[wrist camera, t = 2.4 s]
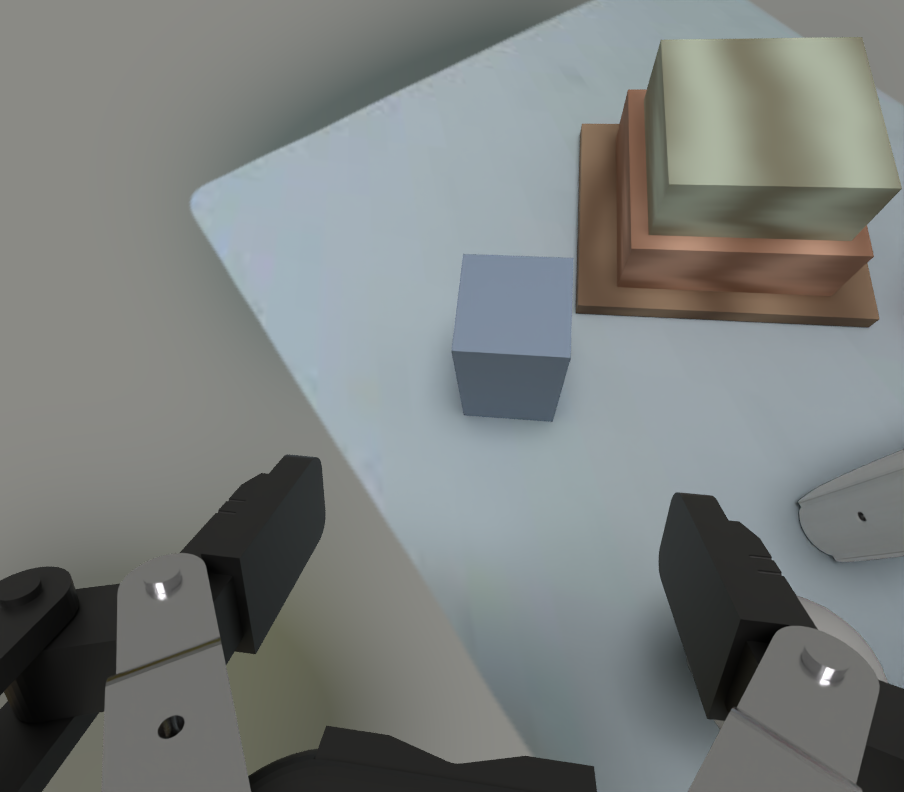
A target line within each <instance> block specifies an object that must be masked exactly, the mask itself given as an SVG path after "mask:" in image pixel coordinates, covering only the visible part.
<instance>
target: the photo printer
mask: <svg viewBox="0 0 904 792" xmlns="http://www.w3.org/2000/svg"><path fill="white" fill-rule="evenodd" d="M798 502H799V504H800V506H801V509H800V510H799V517H800V523H801V526H802V528H803V530H804V532H805V534H806V536H807V537H808V539H809V540H810V541H811V542H812V543H813V544H814V545H815V546H816V547H817V548H818V549H820V550H821V551H823V552H824V553H826V554H828V555H832V556H833V557H834V558H835V560H836V561H838V562H855V561H865V560H875V559H883V558H892V557H901V556H904V449H903V450H901V451H898V452H896V453H893V454H891V455H888V456H886V457H883V458H881V459H879V460H876V461H874V462H872V463H869V464H867V465H865V466H862V467H860V468H858V469H855V470H853V471H851V472H849V473H846V474H844V475H842V476H840V477H837V478H835V479H834V480H832V481H830V482H828V483H825V484H823V485H821V486H819V487H818V488H816V489H814V490H813V491H811V492H810V493H808V494H807V495H805V496H804V497H803V498H801V499H800V500H799V501H798Z"/></svg>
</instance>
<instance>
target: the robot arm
mask: <svg viewBox="0 0 904 792" xmlns="http://www.w3.org/2000/svg"><path fill="white" fill-rule="evenodd" d="M322 477H323V476H322V466H321V461H320V459H319V458H317V457H307V456H298V455H285V456H284V457H283V458H282V459H281V460H280V461H279V463H278V464H277V465H276V466H275V467H274V468H273V470H272V471H271V472H270V473H269V474H265V473H264V474H263V473H261V474H259V475H257V476H256V477H254V478H252V479H250V480H249V481H247V482H245V483H244V484H242V485H241V486H240V487H239V488H238V489H237V490H236V491H235V493H234V494H233V495H232V496H231V497H230V498H229V501H226V503H225V504H224V505H223V506H222V507H221V508H220V509H219V511H218V513H216V514H215V515H214V516H213V517H212V518H211V519H210V520H209V521H208V522H207V523H206V525H205V526H204V527H203V528H202V529H201V530H200V531H199V532H198V533H197V535H196V536H195V537H194V538H193V539H192V540H191V541H190V542H189V543H188V544H187V546H185V548H184V549H183V550H182V551H181V552H180V553H174V554H167V555H163V556H159V557H156V558H153V559H151V560H149V561H147V562H145V563H143V564H141V565H139V566H138V567H136V568H135V569H133V570H132V571H131V572H130V573H129V574H128V575H127V576H126V577H125V578H124V579H123V580H122V582H121V583H120V584H115V585H106V586H98V587H89V588H82V589H75V587H74V584H73V581H72V578H71V576H70V574H69V572H68V571H66V570H65V569H62V568H59V567H39V568H34V569H29V570H25V571H22V572H19V573H16V574H14V575H11V576H9V577H7V578H5V579H3V580H1V581H0V695H1V694H2V693H3V692H4V693H5V695H6V697H7V700H8V702H7V703H6V704H5V705H4V706H3V707H2V708H1V709H0V792H42V791H43V789H44V788H45V787H46V785H47V784H48V783H49V781H50V780H51V778H52V777H53V776H54V774H55V773H56V771H57V770H58V769H59V767H60V766H61V765H62V763H63V762H64V760H65V759H66V757H67V756H68V755H69V754H70V752H71V751H72V749H73V748H74V747H75V745H76V744H77V742H78V741H79V740H80V738H81V737H82V736H83V734H84V733H85V731H86V730H87V728H88V727H89V726H90V724H91V723H92V722H93V720H94V719H95V717H96V716H97V715H98V713H99V712H104V738H103V766H102V767H103V768H102V792H597V789H596V781H595V772H594V766H588V765H582V764H575V763H569V762H562V761H555V760H549V759H542V758H536V757H529V756H521V757H513V758H505V759H496V760H488V761H480V762H471V763H463V764H454V763H450V762H447V761H445V760H443V759H441V758H439V757H436V756H434V755H432V754H430V753H427V752H425V751H423V750H421V749H419V748H416V747H414V746H411V745H409V744H407V743H405V742H403V741H401V740H399V739H396V738H394V737H392V736H389V735H383V734H377V733H371V732H364V731H357V730H350V729H344V728H337V727H331V726H326V729H325V731H324V734H323V737H322V739H321V742H320V745H319V748H318V749H313V750H307V751H303V752H299V753H296V754H292V755H289V756H286V757H284V758H281V759H279V760H276V761H274V762H272V763H270V764H268V765H266V766H264V767H262V768H261V769H259V770H257V771H256V772H254V773H253V774H251V775H249V776H248V774H247V768H246V763H245V758H244V753H243V748H242V743H241V738H240V733H239V728H238V723H237V718H236V714H235V709H234V704H233V698H232V693H231V688H230V683H229V678H228V673H227V669H226V664H227V663H228V661H229V660H230V658H231V656H232V655H233V653H234V652H235V651H236V652H243V653H251V654H256V653H257V651H258V649H259V647H260V646H261V643H262V642H263V640H264V638H265V637H266V635H267V633H268V631H269V630H270V628H271V626H272V624H273V622H274V621H275V619H276V617H277V615H278V614H279V612H280V610H281V608H282V606H283V605H284V603H285V601H286V599H287V597H288V595H289V594H290V592H291V590H292V589H293V587H294V585H295V583H296V581H297V580H298V578H299V576H300V574H301V572H302V571H303V569H304V567H305V565H306V563H307V562H308V560H309V558H310V556H311V555H312V553H313V551H314V549H315V547H316V546H317V544H318V542H319V540H320V538H321V535H322V533H323V529H324V524H325V501H324V489H323V478H322ZM659 573H660V578H661V581H662V584H663V587H664V590H665V593H666V596H667V599H668V602H669V605H670V608H671V611H672V614H673V617H674V620H675V623H676V626H677V629H678V632H679V635H680V638H681V641H682V644H683V647H684V650H685V653H686V656H687V659H688V662H689V665H690V668H691V671H692V674H693V677H694V680H695V683H696V686H697V689H698V692H699V695H700V698H701V701H702V704H703V707H704V710H705V713H706V716H707V719H713V720H720V721H725V722H724V724H723V726H722V728H721V730H720V731H719V733H718V735H717V737H716V739H715V741H714V743H713V745H712V747H711V749H710V750H709V752H708V754H707V756H706V758H705V760H704V762H703V764H702V766H701V768H700V769H699V771H698V773H697V775H696V777H695V779H694V781H693V783H692V785H691V787H690V788H689V790H688V792H904V689H902V688H900V687H897V686H894V685H891V684H889V683H886V682H884V681H881V680H879V679H878V678H877V676H876V673H875V672H874V670H873V669H872V667H871V666H870V664H869V663H868V662H867V661H866V660H865V659H864V658H863V657H862V656H861V655H860V654H859V653H858V652H857V651H855V650H854V649H853V648H852V647H850V646H849V645H847V644H846V643H844V642H843V641H841V640H839V639H838V638H836V637H834V636H832V635H830V634H827V633H825V632H823V631H820V630H818V629H817V627H816V626H815V624H814V622H813V621H812V619H811V618H810V616H809V615H808V613H807V612H806V610H805V608H804V607H803V605H802V604H801V602H800V601H799V599H798V597H797V596H796V594H795V593H794V591H793V590H792V588H791V586H790V585H789V583H788V582H787V580H786V579H785V577H784V576H781V571H780V569H779V568H778V566H777V565H776V563H775V561H772V559H771V555H770V554H769V552H768V551H767V549H766V547H765V546H764V544H763V543H762V541H761V540H760V538H759V537H757V536H756V535H755V534H754V533H753V532H751V531H750V530H749V529H748V528H746V527H745V526H744V525H743V524H742V523H740V522H738V521H729V520H728V519H727V517H726V515H725V514H724V512H723V510H722V508H721V507H720V505H719V503H718V502H717V500H716V498H715V497H714V496H710V495H699V494H689V493H678V492H677V493H675V494H674V495H673V497H672V500H671V503H670V508H669V512H668V516H667V520H666V525H665V529H664V533H663V537H662V541H661V546H660V551H659Z"/></svg>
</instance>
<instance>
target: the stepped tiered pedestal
mask: <svg viewBox="0 0 904 792" xmlns="http://www.w3.org/2000/svg"><path fill="white" fill-rule="evenodd" d="M901 189H902V187H901V183H900V180H899V176H898V172H897V168H896V164H895V161H894V157H893V153H892V149H891V145H890V142H889V138H888V134H887V130H886V126H885V123H884V119H883V115H882V111H881V107H880V104H879V100H878V96H877V92H876V88H875V85H874V81H873V77H872V73H871V70H870V66H869V62H868V58H867V54H866V50H865V47H864V43H863V39H862V37H844V38H843V37H842V38H841V37H840V38H766V39H693V40H661V42H660V45H659V49H658V52H657V56H656V59H655V63H654V66H653V70H652V73H651V77H650V80H649V84H648V87H647V90H628V92H627V96H626V100H625V104H624V108H623V112H622V116H621V120H620V124H582V127H581V133H580V162H579V203H578V244H577V285H576V313H582V314H603V315H624V316H645V317H666V318H686V319H707V320H728V321H749V322H770V323H791V324H812V325H833V326H854V327H870V326H871V325H872V324H874V323H875V322H876V321H878V320H879V314H878V310H877V305H876V301H875V296H874V291H873V287H872V282H871V278H870V273H869V268H868V264H867V262H868V261H870V260H871V259H872V258H873V257H874V255H873V251H872V246H871V242H870V237H869V233H868V228H867V224H868V223H869V222H870V221H871V220H872V219H873V218H874V217H875V216H876V215H877V214H878V213H879V212H880V211H881V210H882V209H883V208H884V207H885V206H886V204H887V203H888V202H889V201H890V200H891V199H892V198H893V197H894V196H895V195H896V194H897V193H898V192H899V191H900V190H901Z"/></svg>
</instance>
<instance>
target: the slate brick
mask: <svg viewBox="0 0 904 792" xmlns="http://www.w3.org/2000/svg"><path fill="white" fill-rule="evenodd" d="M572 288H573V258H560V257H532V256H504V255H476V254H463V260H462V268H461V276H460V285H459V293H458V301H457V310H456V318H455V326H454V335H453V343H452V356H453V361H454V366H455V371H456V376H457V382H458V387H459V392H460V397H461V402H462V408H463V413H464V415H468V416H482V417H496V418H509V419H523V420H537V421H551V422H552V421H553V418H554V414H555V411H556V407H557V404H558V400H559V397H560V393H561V390H562V386H563V383H564V379H565V376H566V372H567V369H568V365H569V362H570V358H571V324H572Z"/></svg>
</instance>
